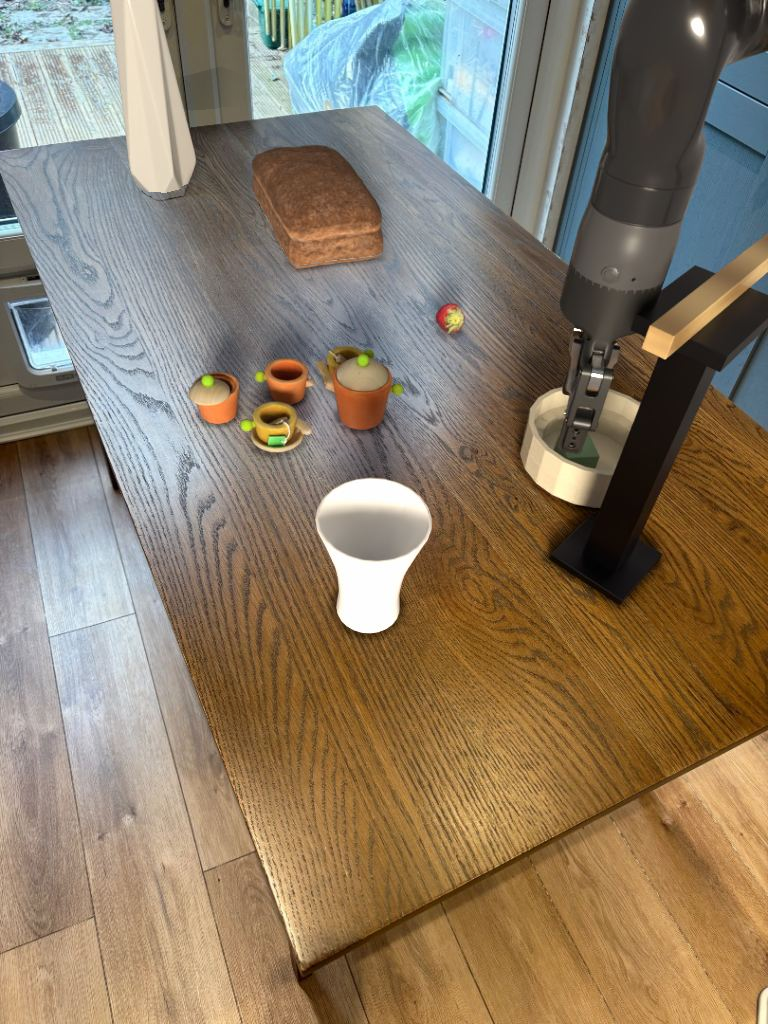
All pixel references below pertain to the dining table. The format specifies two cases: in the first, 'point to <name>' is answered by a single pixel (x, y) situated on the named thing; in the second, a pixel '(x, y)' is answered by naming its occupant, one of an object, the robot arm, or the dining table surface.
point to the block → (582, 454)
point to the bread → (317, 205)
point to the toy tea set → (300, 396)
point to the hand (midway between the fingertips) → (570, 420)
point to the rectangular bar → (707, 301)
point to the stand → (657, 440)
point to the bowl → (565, 474)
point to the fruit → (450, 318)
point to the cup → (372, 546)
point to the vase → (150, 99)
